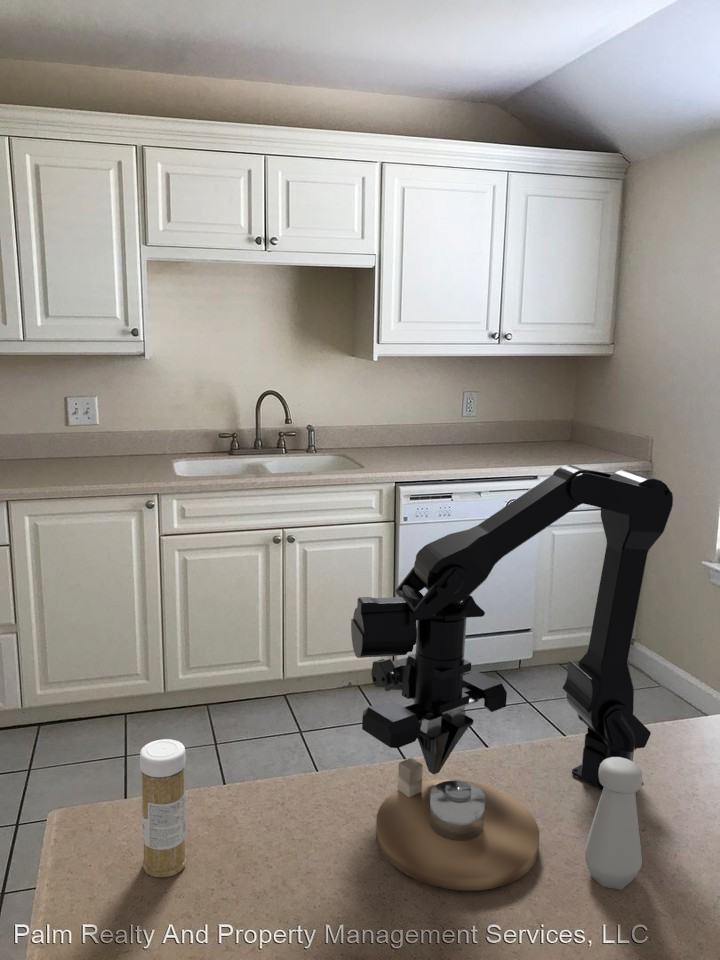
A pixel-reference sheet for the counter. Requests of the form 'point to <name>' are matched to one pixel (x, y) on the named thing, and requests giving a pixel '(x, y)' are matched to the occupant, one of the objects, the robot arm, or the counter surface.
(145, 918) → the counter surface
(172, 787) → the spice bottle
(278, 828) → the counter surface
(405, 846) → the disc
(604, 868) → the salt shaker
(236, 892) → the counter surface
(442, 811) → the cover
